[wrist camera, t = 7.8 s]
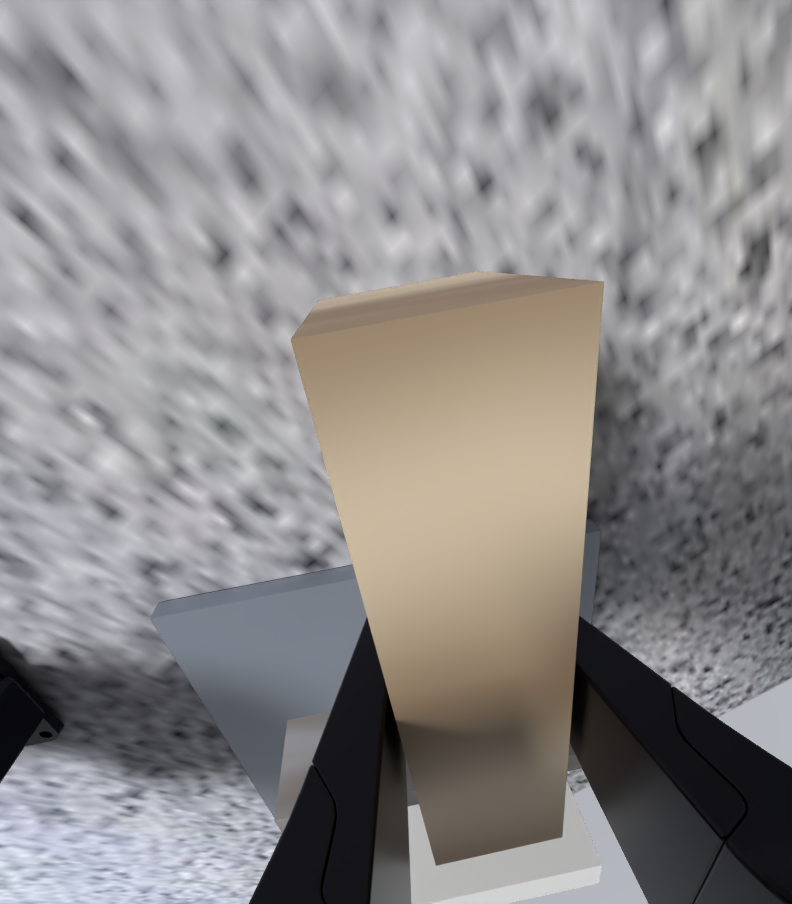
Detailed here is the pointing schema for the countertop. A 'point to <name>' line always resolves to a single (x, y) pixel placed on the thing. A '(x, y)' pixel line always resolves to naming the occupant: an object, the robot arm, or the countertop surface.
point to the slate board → (281, 654)
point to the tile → (504, 866)
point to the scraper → (462, 534)
